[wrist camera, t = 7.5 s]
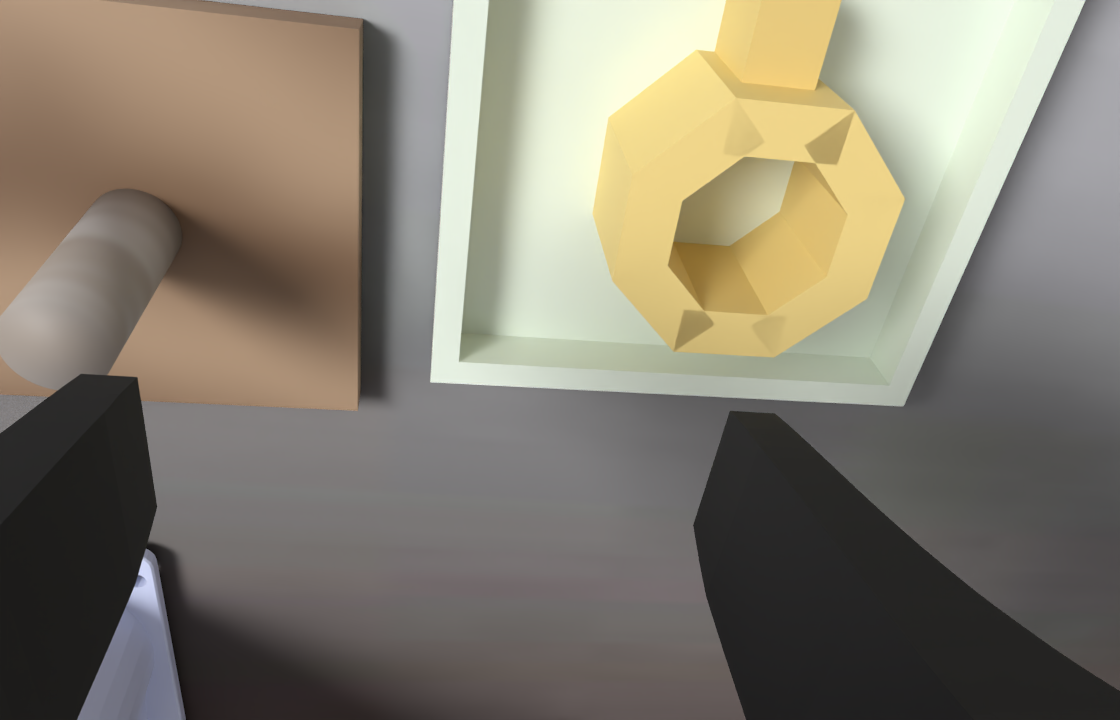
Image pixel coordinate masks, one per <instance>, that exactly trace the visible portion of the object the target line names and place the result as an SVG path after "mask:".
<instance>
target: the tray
mask: <svg viewBox="0 0 1120 720" xmlns="http://www.w3.org/2000/svg"><path fill="white" fill-rule="evenodd" d="M1085 1H1086V0H842V1H841V4H840V7H839V11H838V14H837V18H836V21H835V24H834V28H833V31H832V34H831V38H830V41H829V44H828V48H827V51H826V55H825V58H824V61H823V65H822V68H821V71H820V75H819V79H820V80H821V81H822V82H823V83H824V84H826V85H827V86H828V87H829V88H830V89H831V90H832V91H833V92H835V93H836V94H837V95H838V96H839V97H840V98H841V99H843V100H844V101H845V102H846V103H847V104H848V105H849V106H851V107H852V108H853V109H854V110H855V112H856V113H857V115H858V117H859V119H860V120H861V122H862V124H863V126H864V127H865V129H866V131H867V133H868V134H869V136H870V138H871V140H872V141H873V143H874V145H875V147H876V149H877V150H878V152H879V154H880V156H881V157H882V159H883V161H884V163H885V164H886V166H887V168H888V170H889V171H890V173H891V175H892V177H893V178H894V180H895V182H896V184H897V186H898V187H899V189H900V191H901V193H902V194H903V196H904V198H905V201H904V203H903V206H902V209H901V211H900V214H899V217H898V219H897V222H896V224H895V227H894V230H893V232H892V235H891V237H890V240H889V243H888V245H887V248H886V251H885V253H884V256H883V258H882V261H881V264H880V266H879V269H878V271H877V274H876V277H875V279H874V282H873V285H872V287H871V290H870V292H869V295H868V298H867V299H866V300H864V301H863V302H861V303H860V304H858V305H857V306H855V307H853V308H852V309H850V310H849V311H847V312H845V313H844V314H842V315H841V316H839V317H838V318H836V319H834V320H833V321H831V322H830V323H828V324H826V325H825V326H823V327H822V328H820V329H819V330H817V331H815V332H814V333H812V334H811V335H809V336H807V337H806V338H804V339H803V340H801V341H800V342H798V343H796V344H795V345H793V346H792V347H790V348H788V349H787V350H785V351H784V352H782V353H781V354H779V355H777V356H776V357H774V358H773V357H756V356H738V355H721V354H703V353H686V352H673V351H672V350H671V348H670V347H669V346H668V345H667V344H666V343H665V341H664V340H663V339H662V338H661V337H660V336H659V335H658V333H657V332H656V331H655V330H654V329H653V328H652V326H651V325H650V324H649V323H648V322H647V321H646V319H645V318H644V317H643V316H642V315H641V314H640V313H639V311H638V310H637V309H636V308H635V307H634V306H633V304H632V303H631V302H630V301H629V300H628V299H627V298H626V296H625V295H624V294H623V293H622V292H621V291H620V289H619V288H618V287H617V286H616V285H615V284H614V282H613V281H612V278H611V275H610V272H609V268H608V265H607V261H606V258H605V255H604V251H603V248H602V244H601V241H600V238H599V234H598V231H597V228H596V224H595V221H594V217H593V214H592V213H593V207H594V201H595V195H596V189H597V183H598V177H599V171H600V165H601V159H602V153H603V147H604V141H605V135H606V129H607V123H608V117H610V116H611V115H612V114H613V113H615V112H616V111H617V110H619V109H620V108H621V107H623V106H624V105H625V104H626V103H628V102H629V101H630V100H632V99H633V98H634V97H635V96H637V95H638V94H639V93H641V92H642V91H643V90H645V89H646V88H647V87H648V86H650V85H651V84H652V83H654V82H655V81H656V80H657V79H659V78H660V77H661V76H663V75H664V74H665V73H667V72H668V71H669V70H670V69H672V68H673V67H674V66H676V65H677V64H678V63H679V62H681V61H682V60H683V59H685V58H686V57H687V56H689V55H690V54H691V53H692V52H694V51H695V50H704V51H713V52H715V47H716V43H717V38H718V34H719V29H720V25H721V21H722V16H723V12H724V7H725V3H726V0H453V11H452V27H451V43H450V60H449V76H448V92H447V109H446V125H445V141H444V158H443V174H442V190H441V206H440V223H439V239H438V255H437V272H436V288H435V304H434V321H433V337H432V358H431V380H430V382H436V383H455V384H475V385H494V386H514V387H533V388H553V389H572V390H592V391H611V392H631V393H650V394H670V395H689V396H709V397H728V398H748V399H767V400H787V401H806V402H826V403H846V404H865V405H885V406H904V404H905V402H906V400H907V398H908V395H909V393H910V391H911V389H912V386H913V384H914V382H915V380H916V377H917V375H918V373H919V371H920V369H921V366H922V364H923V362H924V360H925V357H926V355H927V353H928V351H929V348H930V346H931V344H932V342H933V340H934V337H935V335H936V333H937V331H938V328H939V326H940V324H941V322H942V319H943V317H944V315H945V313H946V311H947V308H948V306H949V304H950V302H951V299H952V297H953V295H954V293H955V290H956V288H957V286H958V284H959V282H960V279H961V277H962V275H963V273H964V270H965V268H966V266H967V264H968V261H969V259H970V257H971V255H972V253H973V250H974V248H975V246H976V244H977V241H978V239H979V237H980V235H981V232H982V230H983V228H984V226H985V224H986V221H987V219H988V217H989V215H990V212H991V210H992V208H993V206H994V203H995V201H996V199H997V197H998V195H999V192H1000V190H1001V188H1002V186H1003V183H1004V181H1005V179H1006V177H1007V174H1008V172H1009V170H1010V168H1011V166H1012V163H1013V161H1014V159H1015V157H1016V154H1017V152H1018V150H1019V148H1020V145H1021V143H1022V141H1023V139H1024V137H1025V134H1026V132H1027V130H1028V128H1029V125H1030V123H1031V121H1032V119H1033V117H1034V114H1035V112H1036V110H1037V108H1038V105H1039V103H1040V101H1041V99H1042V96H1043V94H1044V92H1045V90H1046V88H1047V85H1048V83H1049V81H1050V79H1051V76H1052V74H1053V72H1054V70H1055V67H1056V65H1057V63H1058V61H1059V59H1060V56H1061V54H1062V52H1063V50H1064V47H1065V45H1066V43H1067V41H1068V38H1069V36H1070V34H1071V32H1072V30H1073V27H1074V25H1075V23H1076V21H1077V18H1078V16H1079V14H1080V12H1081V9H1082V7H1083V5H1084V3H1085ZM793 164H794V161H788V160H777V159H766V158H756V157H743V158H742V159H740V160H739V161H738V162H736V163H735V164H733V165H732V166H731V167H729V168H728V169H726V170H725V171H724V172H722V173H721V174H719V175H718V176H717V177H715V178H714V179H713V180H711V181H710V182H708V183H707V184H706V185H704V186H703V187H701V188H700V189H699V190H697V191H696V192H694V193H693V194H692V195H690V196H689V197H687V198H686V199H685V200H683V201H682V205H681V209H680V213H679V218H678V222H677V227H676V231H675V235H674V240H673V242H683V243H696V244H709V245H722V246H730V245H732V244H733V243H734V242H736V241H737V240H739V239H740V238H742V237H743V236H745V235H746V234H748V233H749V232H751V231H752V230H753V229H755V228H756V227H758V226H759V225H761V224H762V223H764V222H765V221H767V220H768V219H769V218H771V217H772V216H774V215H775V214H777V213H778V212H780V208H781V205H782V201H783V198H784V195H785V191H786V188H787V185H788V181H789V178H790V175H791V171H792V168H793Z"/></svg>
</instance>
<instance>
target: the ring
mask: <svg viewBox="0 0 1120 720" xmlns="http://www.w3.org/2000/svg"><path fill="white" fill-rule="evenodd" d="M841 1H842V0H726V3H725V7H724V12H723V16H722V21H721V25H720V29H719V34H718V38H717V43H716V47H715V52H713V51H704V50H695V51H694V52H692V53H691V54H690V55H689V56H687V57H686V58H685V59H683V60H682V61H681V62H679V63H678V64H677V65H676V66H674V67H673V68H672V69H670V70H669V71H668V72H667V73H665V74H664V75H663V76H661V77H660V78H659V79H657V80H656V81H655V82H654V83H652V84H651V85H650V86H648V87H647V88H646V89H645V90H643V91H642V92H641V93H639V94H638V95H637V96H635V97H634V98H633V99H632V100H630V101H629V102H628V103H626V104H625V105H624V106H623V107H621V108H620V109H619V110H617V111H616V112H615V113H613V114H612V115H611V116H610V117H608V123H607V129H606V135H605V141H604V147H603V153H602V159H601V165H600V171H599V177H598V183H597V189H596V195H595V201H594V207H593V213H592V214H593V217H594V221H595V224H596V228H597V231H598V234H599V238H600V241H601V244H602V248H603V251H604V255H605V258H606V261H607V265H608V268H609V272H610V275H611V278H612V281H613V282H614V284H615V285H616V286H617V287H618V288H619V289H620V291H621V292H622V293H623V294H624V295H625V296H626V298H627V299H628V300H629V301H630V302H631V303H632V304H633V306H634V307H635V308H636V309H637V310H638V311H639V313H640V314H641V315H642V316H643V317H644V318H645V319H646V321H647V322H648V323H649V324H650V325H651V326H652V328H653V329H654V330H655V331H656V332H657V333H658V335H659V336H660V337H661V338H662V339H663V340H664V341H665V343H666V344H667V345H668V346H669V347H670V348H671V350H672V351H673V352H686V353H703V354H721V355H738V356H756V357H773V358H774V357H776V356H777V355H779V354H781V353H782V352H784V351H785V350H787V349H788V348H790V347H792V346H793V345H795V344H796V343H798V342H800V341H801V340H803V339H804V338H806V337H807V336H809V335H811V334H812V333H814V332H815V331H817V330H819V329H820V328H822V327H823V326H825V325H826V324H828V323H830V322H831V321H833V320H834V319H836V318H838V317H839V316H841V315H842V314H844V313H845V312H847V311H849V310H850V309H852V308H853V307H855V306H857V305H858V304H860V303H861V302H863V301H864V300H866V299H867V298H868V295H869V292H870V290H871V287H872V285H873V282H874V279H875V277H876V274H877V271H878V269H879V266H880V264H881V261H882V258H883V256H884V253H885V251H886V248H887V245H888V243H889V240H890V237H891V235H892V232H893V230H894V227H895V224H896V222H897V219H898V217H899V214H900V211H901V209H902V206H903V203H904V201H905V198H904V196H903V194H902V193H901V191H900V189H899V187H898V186H897V184H896V182H895V180H894V178H893V177H892V175H891V173H890V171H889V170H888V168H887V166H886V164H885V163H884V161H883V159H882V157H881V156H880V154H879V152H878V150H877V149H876V147H875V145H874V143H873V141H872V140H871V138H870V136H869V134H868V133H867V131H866V129H865V127H864V126H863V124H862V122H861V120H860V119H859V117H858V115H857V113H856V112H855V110H854V109H853V108H852V107H851V106H849V105H848V104H847V103H846V102H845V101H844V100H843V99H841V98H840V97H839V96H838V95H837V94H836V93H835V92H833V91H832V90H831V89H830V88H829V87H828V86H827V85H826V84H824V83H823V82H822V81H821V80H820V79H819V75H820V71H821V68H822V65H823V61H824V58H825V55H826V51H827V48H828V44H829V41H830V38H831V34H832V31H833V28H834V24H835V21H836V18H837V14H838V11H839V7H840V4H841ZM743 157H756V158H766V159H777V160H788V161H794V164H793V168H792V171H791V175H790V178H789V181H788V185H787V188H786V191H785V195H784V198H783V201H782V205H781V208H780V212H778V213H777V214H775V215H774V216H772V217H771V218H769V219H768V220H767V221H765V222H764V223H762V224H761V225H759V226H758V227H756V228H755V229H753V230H752V231H751V232H749V233H748V234H746V235H745V236H743V237H742V238H740V239H739V240H737V241H736V242H734V243H733V244H732V245H730V246H722V245H709V244H696V243H683V242H673V240H674V235H675V231H676V227H677V222H678V218H679V213H680V209H681V205H682V201H683V200H685V199H686V198H687V197H689V196H690V195H692V194H693V193H694V192H696V191H697V190H699V189H700V188H701V187H703V186H704V185H706V184H707V183H708V182H710V181H711V180H713V179H714V178H715V177H717V176H718V175H719V174H721V173H722V172H724V171H725V170H726V169H728V168H729V167H731V166H732V165H733V164H735V163H736V162H738V161H739V160H740V159H742V158H743Z"/></svg>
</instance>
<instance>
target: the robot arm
mask: <svg viewBox="0 0 1120 720" xmlns="http://www.w3.org/2000/svg"><path fill="white" fill-rule="evenodd" d="M156 509H157V504H156V497H155V491H154V484H153V477H152V471H151V464H150V457H149V451H148V444H147V437H146V431H145V424H144V417H143V411H142V404H141V397H140V391H139V384H138V378H137V377H129V376H112V375H94V374H80V375H79V376H77V377H76V378H74V379H73V380H71V381H70V382H69V383H67V384H66V385H64V386H63V387H62V388H60V389H59V390H58V391H56V392H55V393H54V394H52V395H51V396H50V397H48V398H47V399H46V400H44V401H43V402H42V403H40V404H39V405H38V406H36V407H35V408H34V409H32V410H31V411H30V412H28V413H27V414H26V415H24V416H23V417H22V418H20V419H19V420H18V421H16V422H15V423H14V424H12V425H11V426H10V427H8V428H7V429H6V430H4V431H3V432H2V433H0V720H186V717H185V712H184V706H183V701H182V695H181V690H180V684H179V679H178V673H177V668H176V662H175V657H174V651H173V646H172V640H171V635H170V629H169V624H168V619H167V613H166V608H165V602H164V597H163V591H162V586H161V580H160V575H159V569H158V564H157V559H156V557H155V555H154V554H153V553H152V552H151V551H150V550H148V549H146V546H147V542H148V539H149V535H150V531H151V527H152V524H153V520H154V516H155V512H156ZM693 526H694V532H695V538H696V544H697V550H698V556H699V562H700V567H701V572H702V577H703V582H704V587H705V592H706V597H707V600H708V603H709V607H710V610H711V613H712V616H713V619H714V622H715V626H716V629H717V632H718V635H719V638H720V641H721V644H722V648H723V651H724V654H725V657H726V660H727V663H728V666H729V669H730V672H731V675H732V678H733V681H734V684H735V687H736V690H737V693H738V696H739V699H740V702H741V705H742V708H743V711H744V715H745V718H746V720H1120V691H1119V690H1117V689H1115V688H1114V687H1112V686H1111V685H1109V684H1107V683H1106V682H1104V681H1103V680H1101V679H1099V678H1098V677H1096V676H1095V675H1093V674H1092V673H1090V672H1088V671H1087V670H1085V669H1084V668H1082V667H1081V666H1079V665H1078V664H1076V663H1075V662H1073V661H1072V660H1070V659H1069V658H1067V657H1066V656H1064V655H1063V654H1061V653H1060V652H1058V651H1057V650H1055V649H1054V648H1052V647H1051V646H1049V645H1048V644H1047V643H1045V642H1044V641H1042V640H1041V639H1040V638H1038V637H1037V636H1035V635H1034V634H1033V633H1031V632H1030V631H1029V630H1027V629H1026V628H1024V627H1023V626H1022V625H1020V624H1019V623H1018V622H1016V621H1015V620H1013V619H1012V618H1011V617H1009V616H1008V615H1006V614H1005V613H1004V612H1002V611H1001V610H1000V609H998V608H997V607H995V606H994V605H993V604H991V603H990V602H989V601H988V600H986V599H985V598H984V597H982V596H981V595H980V594H978V593H977V592H976V591H975V590H973V589H972V588H971V587H969V586H968V585H967V584H966V583H964V582H963V581H962V580H961V579H960V578H958V577H957V576H956V575H955V574H954V573H952V572H951V571H950V570H949V569H947V568H946V567H945V566H944V565H943V564H941V563H940V562H939V561H938V560H937V559H935V558H934V557H933V556H932V555H930V554H929V553H928V552H927V551H926V550H924V549H923V548H922V547H921V546H920V545H919V544H917V543H916V542H915V541H914V540H913V539H912V538H911V537H909V536H908V535H907V534H906V533H905V532H904V531H903V530H901V529H900V528H899V527H898V526H897V525H896V524H895V523H894V522H892V521H891V520H890V519H889V518H888V517H887V516H886V515H885V514H884V513H882V512H881V511H880V510H879V509H878V508H877V507H876V506H875V505H874V504H873V503H871V502H870V501H869V500H868V499H867V498H866V497H865V496H864V495H863V494H862V493H861V492H860V491H858V490H857V489H856V488H855V487H854V486H853V485H852V484H851V483H850V482H849V481H848V480H847V479H846V478H845V477H844V476H842V475H841V474H840V473H839V472H838V471H837V470H836V469H835V468H834V467H833V466H832V465H831V464H830V463H829V462H828V461H827V460H825V459H824V458H823V457H822V456H821V455H820V454H819V453H818V452H817V451H816V450H815V449H814V448H813V447H812V446H811V445H810V444H808V443H807V442H806V441H805V440H804V439H803V438H802V437H801V436H800V435H799V434H798V433H797V432H795V431H794V430H793V429H792V428H791V427H790V426H789V425H788V424H786V423H785V422H784V421H783V420H782V419H781V418H779V417H778V416H777V415H776V414H773V413H756V412H738V411H730V413H729V416H728V419H727V422H726V425H725V429H724V432H723V435H722V438H721V441H720V444H719V447H718V450H717V453H716V457H715V460H714V463H713V466H712V469H711V472H710V475H709V478H708V481H707V484H706V488H705V491H704V494H703V497H702V500H701V503H700V506H699V509H698V512H697V516H696V519H695V522H694V525H693ZM138 575H140V576H138Z"/></svg>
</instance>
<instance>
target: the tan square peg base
mask: <svg viewBox="0 0 1120 720" xmlns="http://www.w3.org/2000/svg"><path fill="white" fill-rule="evenodd" d="M362 116H363V19H359V18H351V17H342V16H333V15H325V14H316V13H307V12H298V11H290V10H281V9H272V8H263V7H255V6H246V5H237V4H229V3H220V2H211V1H202V0H0V394H3V395H25V396H47V397H50V396H51V395H52V394H54V393H55V392H56V391H58V390H59V389H60V388H62V387H63V386H64V385H66V384H67V383H69V382H70V381H71V380H73V379H74V378H76V377H77V376H79V375H80V374H94V375H112V376H129V377H137V378H138V384H139V391H140V397H141V401H157V402H179V403H201V404H222V405H244V406H266V407H288V408H310V409H332V410H354V411H358V406H359V399H360V393H361V274H362Z"/></svg>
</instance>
